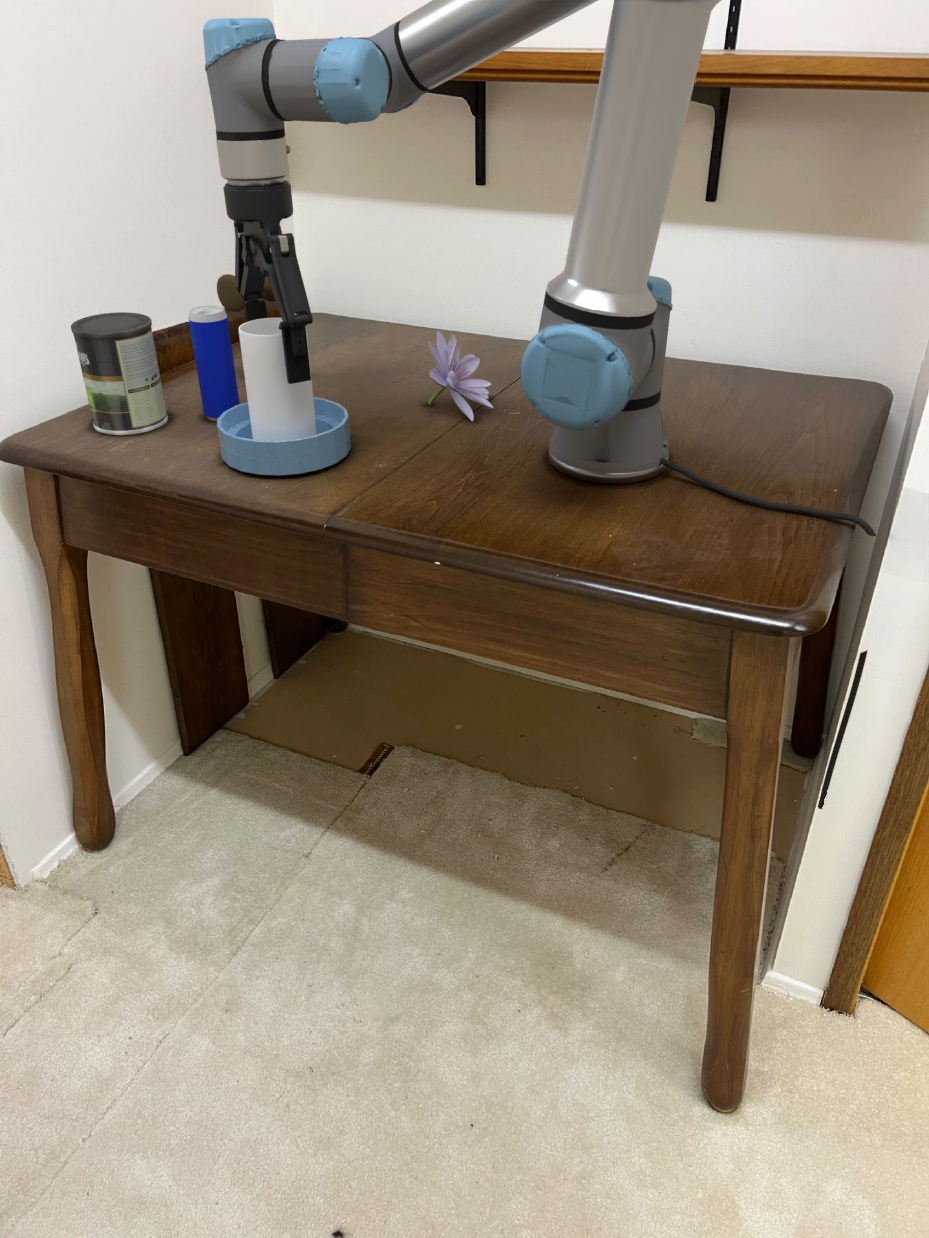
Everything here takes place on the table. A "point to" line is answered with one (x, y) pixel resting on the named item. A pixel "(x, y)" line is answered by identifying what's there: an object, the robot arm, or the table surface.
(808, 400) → the table surface
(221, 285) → the kendama
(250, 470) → the bowl
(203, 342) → the beverage can
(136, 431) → the coffee can
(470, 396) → the water lily
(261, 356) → the cup
